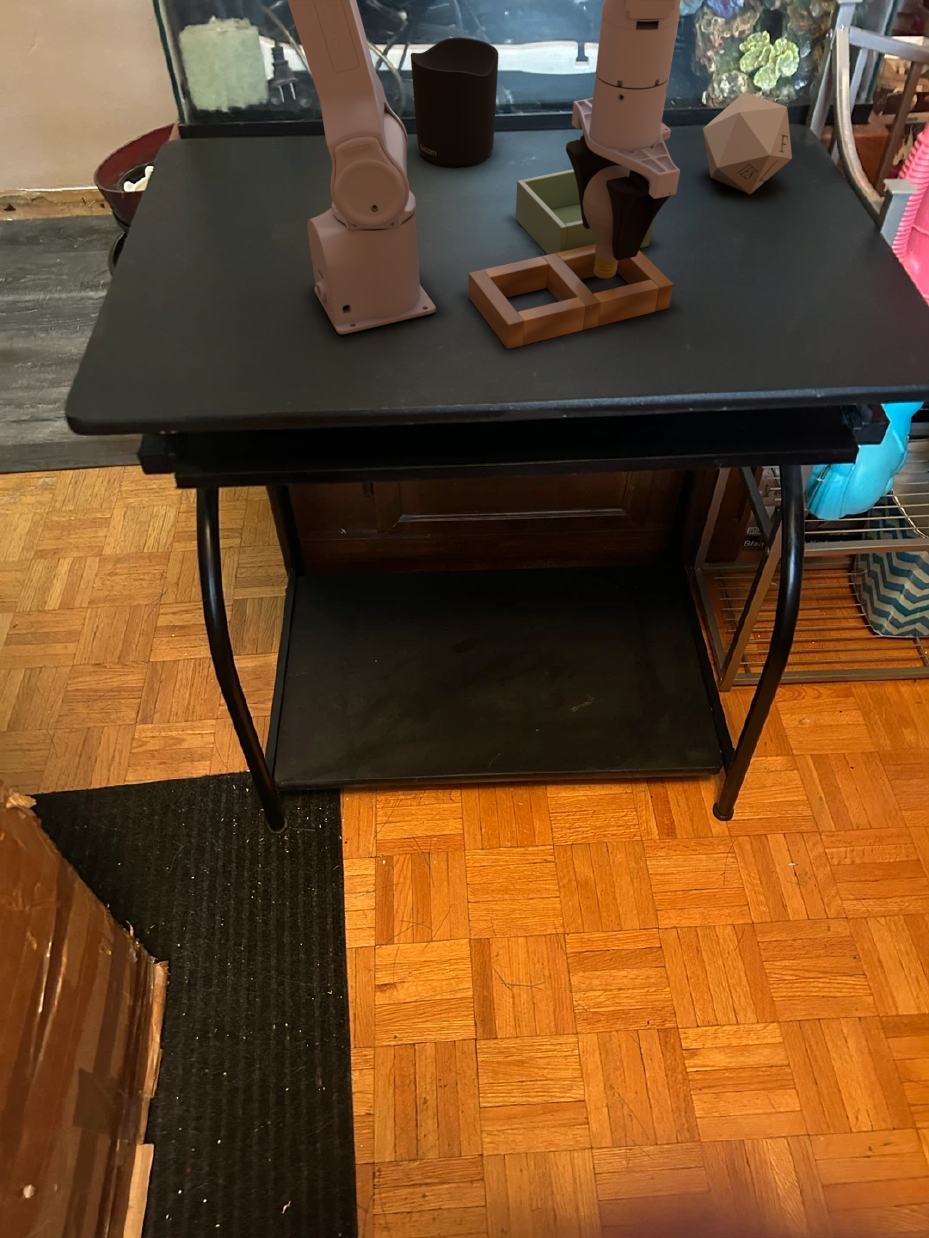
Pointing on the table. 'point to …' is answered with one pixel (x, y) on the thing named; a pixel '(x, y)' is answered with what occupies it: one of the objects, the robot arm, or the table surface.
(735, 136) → the die
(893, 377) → the table surface
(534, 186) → the basin
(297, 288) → the table surface
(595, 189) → the light bulb
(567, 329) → the frame
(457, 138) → the pen holder
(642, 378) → the table surface
